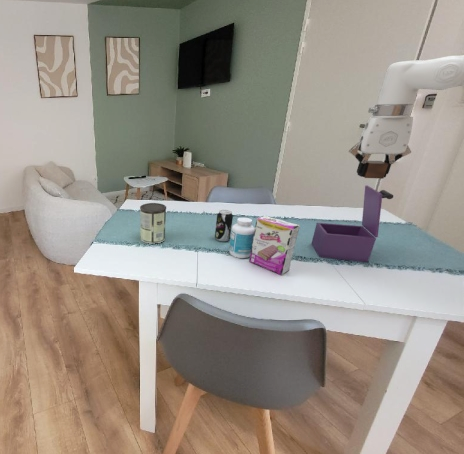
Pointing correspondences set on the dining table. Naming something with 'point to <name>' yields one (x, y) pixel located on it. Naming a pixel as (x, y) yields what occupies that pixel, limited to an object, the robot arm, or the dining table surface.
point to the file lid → (373, 209)
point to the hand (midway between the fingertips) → (371, 175)
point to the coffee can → (153, 222)
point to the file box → (343, 242)
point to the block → (376, 169)
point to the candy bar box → (273, 244)
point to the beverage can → (223, 225)
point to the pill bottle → (242, 238)
